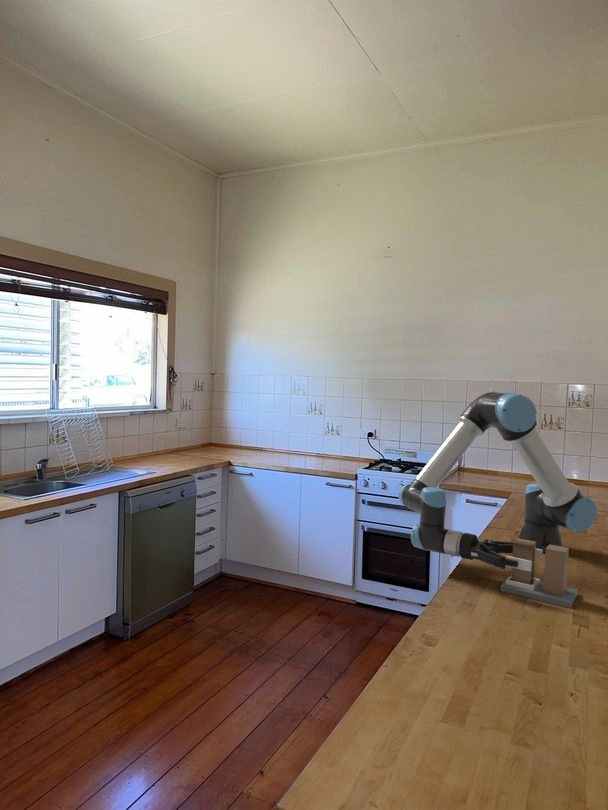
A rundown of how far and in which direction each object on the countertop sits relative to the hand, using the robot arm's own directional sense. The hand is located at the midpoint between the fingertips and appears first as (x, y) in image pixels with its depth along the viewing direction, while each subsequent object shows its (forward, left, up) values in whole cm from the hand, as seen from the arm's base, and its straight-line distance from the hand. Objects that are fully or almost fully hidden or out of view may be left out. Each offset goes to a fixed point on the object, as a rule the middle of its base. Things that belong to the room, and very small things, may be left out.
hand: (536, 560), depth 157 cm
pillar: (+1, -3, -7) cm, 8 cm away
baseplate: (0, +1, -9) cm, 9 cm away
